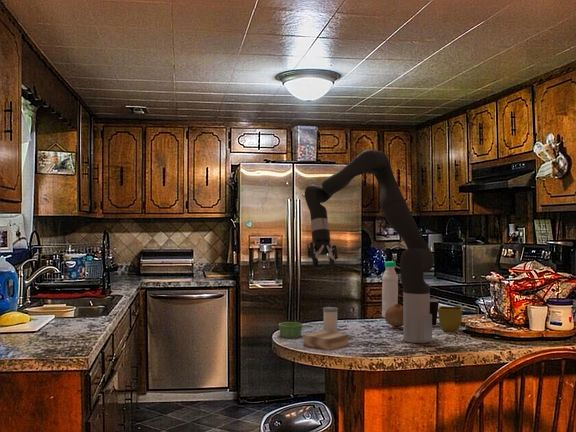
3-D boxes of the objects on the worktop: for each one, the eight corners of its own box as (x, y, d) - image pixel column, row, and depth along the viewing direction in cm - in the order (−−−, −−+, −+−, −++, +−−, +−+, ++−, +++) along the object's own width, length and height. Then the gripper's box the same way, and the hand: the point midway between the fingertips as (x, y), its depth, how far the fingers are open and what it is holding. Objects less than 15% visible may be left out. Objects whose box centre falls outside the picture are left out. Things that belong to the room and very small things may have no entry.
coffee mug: (439, 326, 226) (439, 302, 226) (418, 325, 228) (418, 301, 228) (437, 321, 237) (437, 298, 237) (417, 320, 239) (417, 297, 239)
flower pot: (437, 331, 215) (437, 308, 215) (440, 328, 223) (440, 305, 223) (461, 333, 211) (461, 310, 211) (462, 329, 219) (462, 307, 220)
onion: (411, 330, 217) (411, 305, 217) (387, 330, 217) (387, 304, 217) (406, 326, 227) (406, 301, 227) (383, 325, 227) (383, 301, 227)
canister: (340, 338, 202) (340, 307, 202) (331, 340, 198) (331, 309, 198) (329, 336, 206) (329, 306, 206) (320, 338, 202) (320, 308, 202)
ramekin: (274, 337, 204) (274, 325, 204) (284, 332, 212) (284, 321, 212) (296, 339, 200) (296, 327, 200) (306, 334, 208) (306, 323, 208)
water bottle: (399, 316, 249) (399, 261, 250) (395, 319, 243) (395, 262, 243) (384, 315, 252) (384, 260, 253) (380, 318, 246) (380, 261, 246)
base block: (348, 344, 191) (348, 334, 191) (328, 350, 183) (328, 339, 183) (323, 340, 198) (323, 330, 198) (303, 344, 190) (303, 334, 190)
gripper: (313, 226, 222) (317, 265, 217) (339, 230, 231) (343, 268, 226) (301, 231, 228) (305, 269, 223) (327, 235, 236) (331, 272, 231)
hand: (324, 269), depth 224 cm, fingers open, 8 cm apart
